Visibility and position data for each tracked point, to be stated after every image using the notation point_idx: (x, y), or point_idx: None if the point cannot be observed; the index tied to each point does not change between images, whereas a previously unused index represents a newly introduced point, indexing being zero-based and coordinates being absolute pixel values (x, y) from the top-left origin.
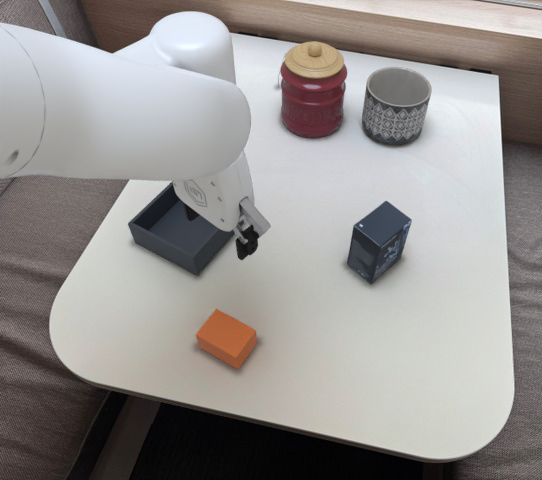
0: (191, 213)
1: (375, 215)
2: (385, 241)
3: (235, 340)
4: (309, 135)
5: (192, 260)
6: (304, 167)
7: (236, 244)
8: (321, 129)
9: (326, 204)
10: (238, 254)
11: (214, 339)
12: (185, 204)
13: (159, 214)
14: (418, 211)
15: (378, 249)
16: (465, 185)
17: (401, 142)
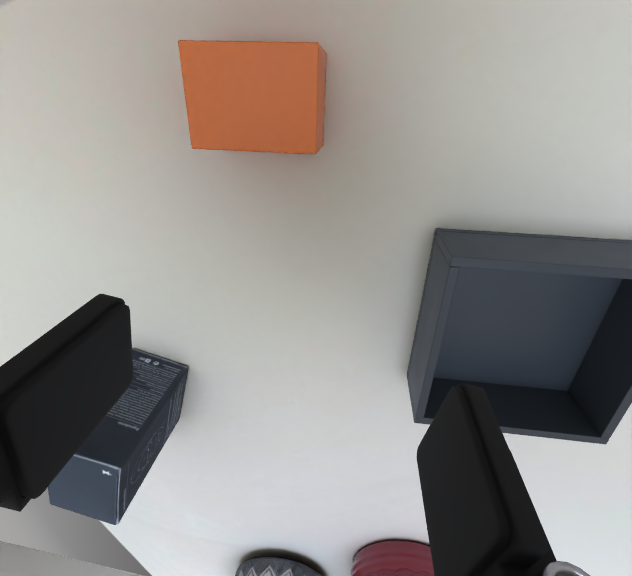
0: (461, 434)
1: (103, 497)
2: None
3: (213, 91)
4: (387, 546)
5: (453, 251)
6: (364, 495)
7: (20, 375)
8: (369, 564)
9: (290, 449)
10: (80, 317)
11: (261, 60)
12: (510, 514)
13: (609, 331)
14: (163, 475)
15: None
16: (140, 522)
17: (248, 563)
